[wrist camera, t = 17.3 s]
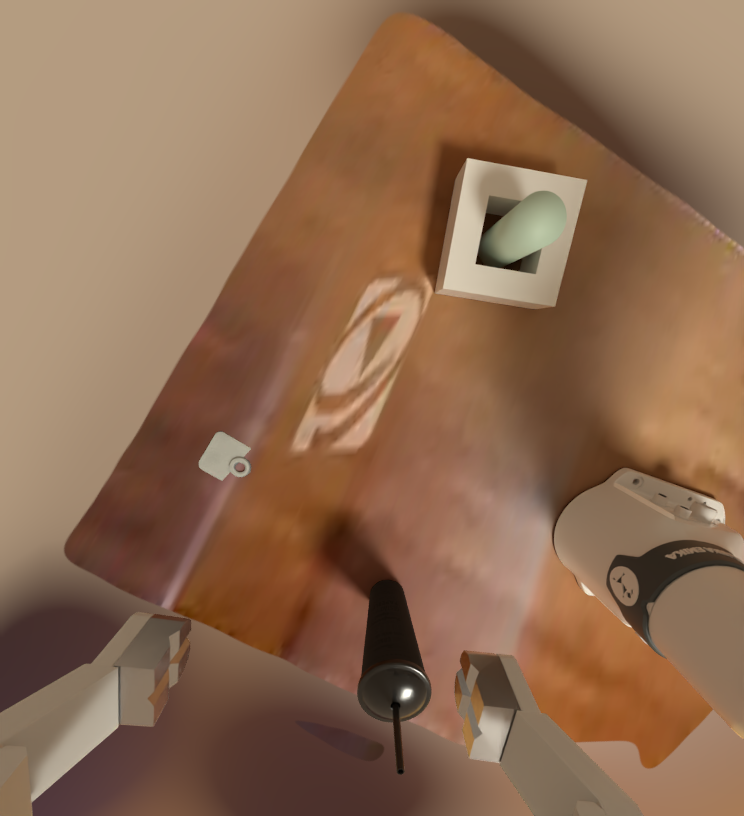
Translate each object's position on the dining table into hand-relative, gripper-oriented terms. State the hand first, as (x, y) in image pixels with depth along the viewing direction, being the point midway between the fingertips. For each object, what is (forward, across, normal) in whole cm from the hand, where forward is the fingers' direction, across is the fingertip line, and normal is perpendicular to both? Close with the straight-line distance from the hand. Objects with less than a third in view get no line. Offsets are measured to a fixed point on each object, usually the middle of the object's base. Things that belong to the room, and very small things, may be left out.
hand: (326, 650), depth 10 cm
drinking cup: (+33, -8, +26) cm, 43 cm away
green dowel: (+33, -13, -21) cm, 41 cm away
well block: (+33, -13, -21) cm, 41 cm away
